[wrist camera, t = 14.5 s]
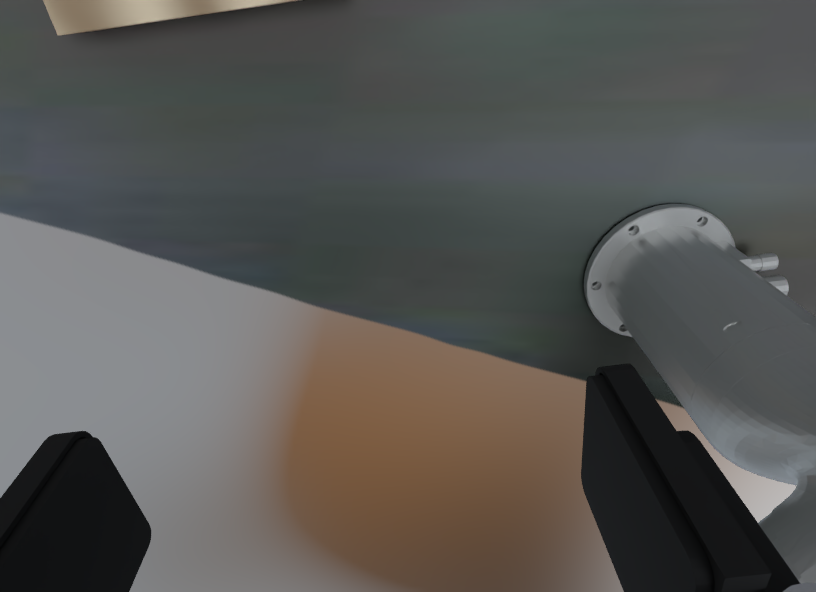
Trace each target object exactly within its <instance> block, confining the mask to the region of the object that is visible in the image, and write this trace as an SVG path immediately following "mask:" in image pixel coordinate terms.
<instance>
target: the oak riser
mask: <svg viewBox="0 0 816 592" xmlns="http://www.w3.org/2000/svg"><path fill="white" fill-rule="evenodd" d="M43 1H44V3H45V6H46V8H47V11H48V13H49V15H50V18H51V20H52V23H53V25H54V27H55V30H56V32H57V35H67V34H75V33H84V32H92V31H99V30H105V29H112V28H119V27H126V26H132V25H139V24H146V23H153V22H159V21H166V20H173V19H180V18H186V17H193V16H200V15H207V14H213V13H220V12H227V11H234V10H240V9H247V8H254V7H261V6H267V5H274V4H281V3H288V2H294V1H301V0H43Z"/></svg>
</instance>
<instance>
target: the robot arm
mask: <svg viewBox="0 0 816 592" xmlns="http://www.w3.org/2000/svg"><path fill="white" fill-rule="evenodd" d="M631 226H632V227H631ZM630 227H631V228H630ZM629 228H630V229H629ZM778 262H779V260H778V257H777V256H776V254H775V253H766V254H758V255H755V256H749V257H747V256H746V255H745V254H743V253H742V252H740V251H739V250H738V249H736V248H735V243H734V239H733V237H732V235H731V233H730V231H729V229H728V228H727V227H726V226H725V225H724V223H723V222H722V221H721V220H719V219H718V218H717V217H715V216H714V215H713V214H711V213H709V212H707V211H705V210H704V209H702V208H699V207H696V206H692V205H688V204H665V205H658V206H654V207H651V208H648V209H645V210H642V211H640V212H638V213H636V214H634V215H632V216H630V217H628V218H626V219H625V220H623V221H622V222H621V223H619V224H618V225H616V226H615V227H614V228H613V229H612V230H611V231H610V232H609V233H608V234H606V235H605V236H604V238H603V239H602V240H601V241H600V243H599V244H598V245H597V247H596V248H595V250H594V252H593V253H592V255H591V257H590V259H589V261H588V264H587V268H586V271H585V276H584V293H585V298H586V301H587V303H588V306H589V308H590V309H591V311H592V313H593V314H594V316H595V317H596V318H597V319H598V320H599V322H600V323H601V324H602V325H604V326H605V327H606V328H608V329H609V330H611V331H613V332H615V333H617V334H620V335H624V336H629V337H633V338H634V340H635V341H636V342H637V344H638V345H639V346H640V348H641V349H642V351H643V352H644V353H645V355H646V356H647V357H648V359H649V360H650V362H651V363H652V364H653V366H654V367H655V368H656V370H657V371H658V373H659V374H660V375H661V377H662V378H663V380H664V381H665V382H666V384H667V385H668V386H669V388H670V389H671V391H672V392H673V393H674V395H675V396H676V397H677V399H678V400H679V402H680V403H681V404H682V406H683V407H684V408H685V410H686V411H687V412H688V414H689V415H690V417H691V418H692V419H693V421H694V422H695V424H696V425H697V427H698V428H699V429H700V431H701V432H702V433H703V435H704V436H705V437H706V439H707V440H708V441H709V443H710V444H711V445H712V446H713V447H714V448H715V449H716V450H717V451H718V452H719V453H720V454H721V455H722V456H724V457H725V458H726V459H728V460H729V461H731V462H732V463H734V464H735V465H737V466H739V467H741V468H743V469H745V470H747V471H750V472H752V473H754V474H757V475H760V476H763V477H766V478H769V479H773V480H776V481H780V482H784V483H788V484H793V485H797V487H796V489H795V490H794V492H793V493H792V494H791V495H790V496H789V497H788V498H787V499H785V501H783V502H782V503H781V504H780V505H779V506H777V507H776V508H775V509H774V510H773V511H772V513H770V514H769V515H768V516H767V517H765V518H764V519H763V520H761V521H760V522H759V523H757V521H756V520H755V518H754V517H753V516H752V514H751V513H750V512H749V510H748V508H747V507H746V506H745V504H744V503H743V501H742V500H741V499H740V497H739V496H738V494H737V493H736V492H735V490H734V489H733V487H732V486H731V485H730V483H729V482H728V480H727V479H726V477H725V476H724V475H723V473H722V472H721V470H720V469H719V467H718V466H717V465H716V463H715V462H714V460H713V459H712V458H711V456H710V455H709V453H708V452H707V450H706V449H705V448H704V447H703V445H702V443H701V442H700V441H699V440H698V438H697V437H696V436H695V435H694V434H693V433H691V432H689V431H676V430H675V428H674V427H673V425H672V424H671V422H670V421H669V419H668V418H667V416H666V415H665V413H664V412H663V410H662V409H661V407H660V406H659V404H658V403H657V401H656V400H655V398H654V397H653V395H652V394H651V392H650V391H649V389H648V388H647V386H646V385H645V383H644V382H643V380H642V379H641V377H640V376H639V374H638V373H637V371H636V370H635V368H634V367H633V366H632V365H631V364H621V365H613V366H605V367H599V368H597V370H596V375H595V376H589V377H588V378H587V383H586V400H585V418H584V435H583V452H582V469H581V479H582V485H583V489H584V492H585V495H586V498H587V500H588V503H589V505H590V508H591V510H592V513H593V515H594V518H595V520H596V522H597V525H598V528H599V530H600V533H601V535H602V538H603V540H604V543H605V545H606V548H607V550H608V553H609V555H610V558H611V560H612V563H613V565H614V568H615V570H616V573H617V575H618V578H619V580H620V583H621V585H622V588H623V590H624V592H816V317H815V316H813V315H812V314H811V313H809V312H808V311H807V310H805V309H804V308H803V307H801V306H800V305H799V304H797V303H796V302H795V301H793V300H792V299H791V298H789V297H788V296H787V293H788V291H789V285H788V282H787V280H786V278H785V277H784V276H782V275H773V276H765V277H761V276H760V275H758V274H757V273H756V272H754V271H766V270H774V269H776V268H777V266H778ZM150 540H151V528H150V525H149V523H148V521H147V520H146V518H145V516H144V515H143V513H142V511H141V509H140V508H139V506H138V504H137V503H136V501H135V499H134V498H133V496H132V494H131V492H130V491H129V489H128V487H127V486H126V484H125V482H124V481H123V479H122V477H121V475H120V474H119V472H118V470H117V469H116V467H115V465H114V464H113V462H112V460H111V458H110V457H109V455H108V453H107V452H106V450H105V448H104V447H103V445H102V444H101V442H100V441H99V439H97V438H93V437H92V436H91V434H89V433H88V432H86V431H79V432H70V433H62V434H54V435H52V436H49V437H48V438H47V439H46V440H45V441H44V442H43V444H42V445H41V446H40V448H39V449H38V450H37V451H36V453H35V454H34V455H33V457H32V458H31V459H30V460H29V462H28V463H27V464H26V466H25V467H24V468H23V470H22V471H21V472H20V473H19V475H18V476H17V478H16V479H15V480H14V481H13V483H12V484H11V485H10V486H9V488H8V489H7V491H6V492H5V493H4V494H3V496H2V497H1V498H0V592H129V591H130V588H131V586H132V584H133V581H134V579H135V577H136V574H137V572H138V570H139V567H140V565H141V563H142V560H143V558H144V556H145V554H146V551H147V549H148V547H149V544H150Z"/></svg>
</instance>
